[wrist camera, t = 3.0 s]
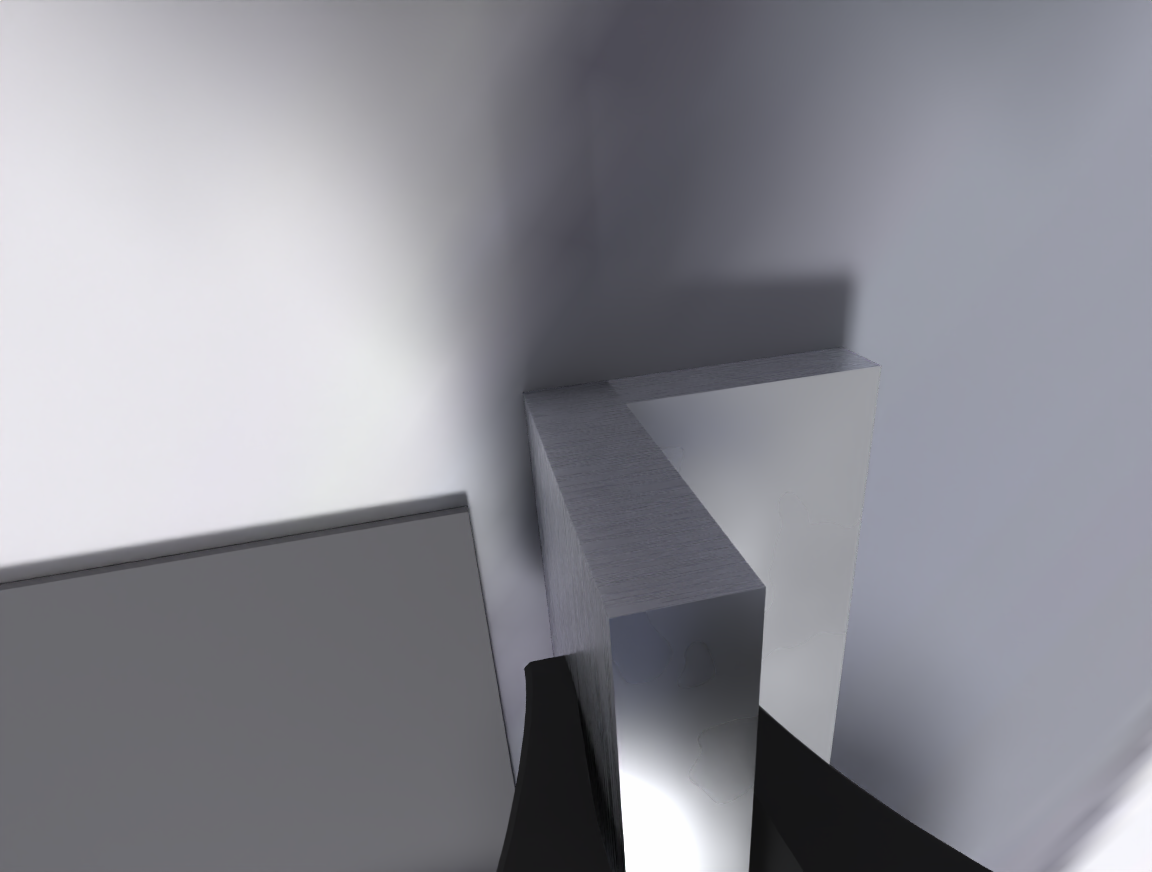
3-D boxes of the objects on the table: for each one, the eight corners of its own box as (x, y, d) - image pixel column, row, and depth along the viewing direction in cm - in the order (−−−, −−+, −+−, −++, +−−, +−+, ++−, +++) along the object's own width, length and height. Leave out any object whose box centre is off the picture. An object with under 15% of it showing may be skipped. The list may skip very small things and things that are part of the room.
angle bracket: (522, 391, 11) (608, 619, 6) (841, 346, 12) (1171, 505, 7) (568, 785, 15) (643, 1129, 10) (802, 729, 16) (986, 1017, 11)
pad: (68, 1028, 15) (64, 1038, 15) (-245, 625, 10) (-257, 633, 10) (534, 904, 17) (535, 912, 17) (467, 506, 12) (468, 511, 12)
